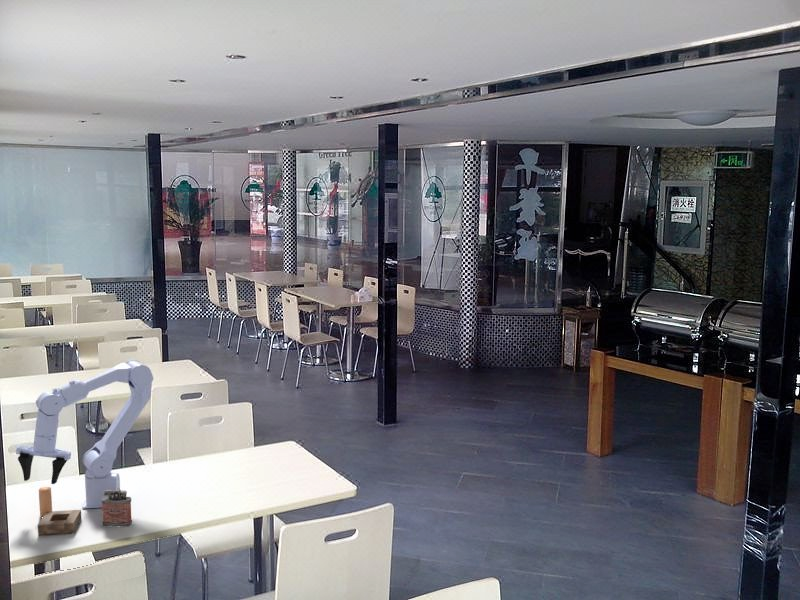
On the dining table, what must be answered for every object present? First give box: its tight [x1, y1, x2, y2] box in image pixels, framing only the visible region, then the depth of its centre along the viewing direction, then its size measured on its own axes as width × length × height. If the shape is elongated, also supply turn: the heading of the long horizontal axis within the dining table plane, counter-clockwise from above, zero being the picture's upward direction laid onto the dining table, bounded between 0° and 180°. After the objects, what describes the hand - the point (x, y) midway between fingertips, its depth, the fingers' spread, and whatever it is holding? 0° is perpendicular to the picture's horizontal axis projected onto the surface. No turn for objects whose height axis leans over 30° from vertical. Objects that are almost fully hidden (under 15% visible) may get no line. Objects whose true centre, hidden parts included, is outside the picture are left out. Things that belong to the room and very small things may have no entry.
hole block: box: [37, 509, 82, 537], centre depth 209 cm, size 9×9×3 cm
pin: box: [38, 486, 53, 518], centre depth 217 cm, size 3×3×8 cm
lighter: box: [101, 488, 133, 528], centre depth 212 cm, size 8×3×10 cm, turn 92°
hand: (40, 481), depth 216 cm, fingers open, 7 cm apart
